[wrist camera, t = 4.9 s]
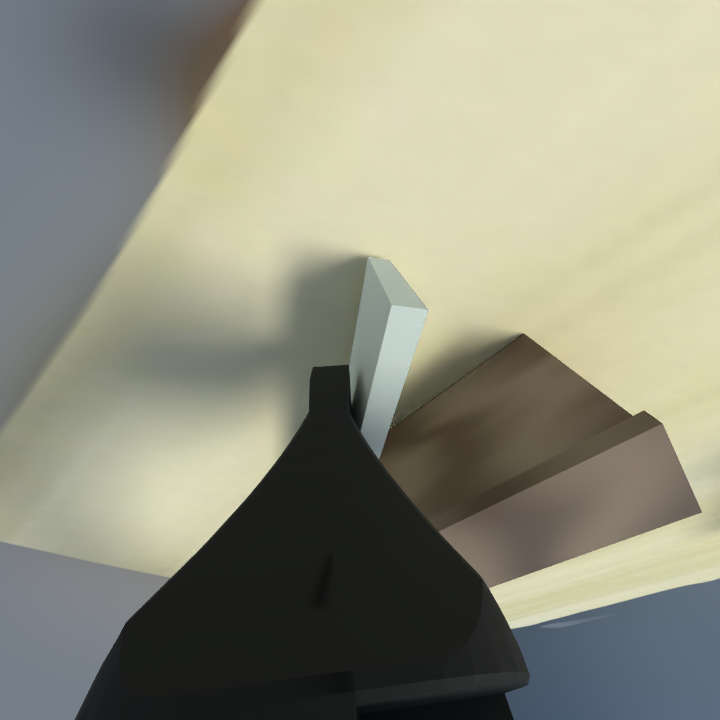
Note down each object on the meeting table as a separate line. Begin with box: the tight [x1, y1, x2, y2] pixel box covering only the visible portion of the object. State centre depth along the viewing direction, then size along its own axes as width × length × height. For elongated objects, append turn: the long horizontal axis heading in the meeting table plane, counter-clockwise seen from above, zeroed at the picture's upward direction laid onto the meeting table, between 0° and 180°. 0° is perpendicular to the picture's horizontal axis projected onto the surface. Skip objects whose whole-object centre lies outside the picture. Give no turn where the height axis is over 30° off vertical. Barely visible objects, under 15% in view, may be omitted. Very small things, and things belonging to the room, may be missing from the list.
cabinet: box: [379, 334, 702, 588], centre depth 13 cm, size 13×8×6 cm
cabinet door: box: [349, 257, 428, 459], centre depth 10 cm, size 12×1×5 cm, turn 171°
